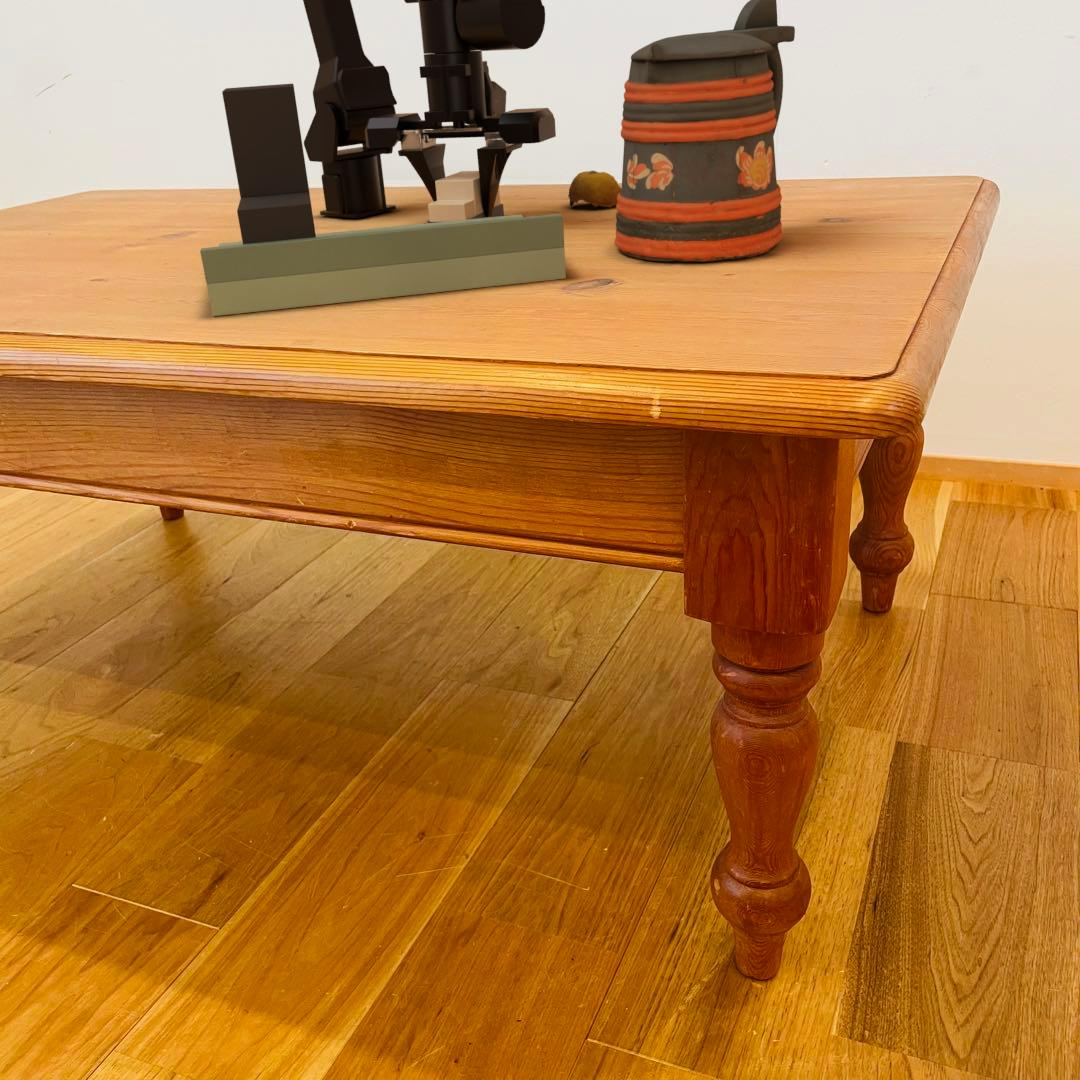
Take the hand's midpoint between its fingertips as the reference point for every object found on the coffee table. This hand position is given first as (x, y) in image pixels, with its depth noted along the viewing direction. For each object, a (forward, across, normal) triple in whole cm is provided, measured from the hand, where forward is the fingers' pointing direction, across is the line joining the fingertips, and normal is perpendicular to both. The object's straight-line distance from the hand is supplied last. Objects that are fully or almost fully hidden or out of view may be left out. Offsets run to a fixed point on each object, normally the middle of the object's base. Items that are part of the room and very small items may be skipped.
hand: (467, 216), depth 112 cm
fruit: (+1, -11, -14) cm, 18 cm away
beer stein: (+1, -27, +8) cm, 28 cm away
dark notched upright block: (-2, +4, +28) cm, 29 cm away
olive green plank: (+1, -1, +22) cm, 23 cm away
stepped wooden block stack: (+1, 0, 0) cm, 1 cm away
